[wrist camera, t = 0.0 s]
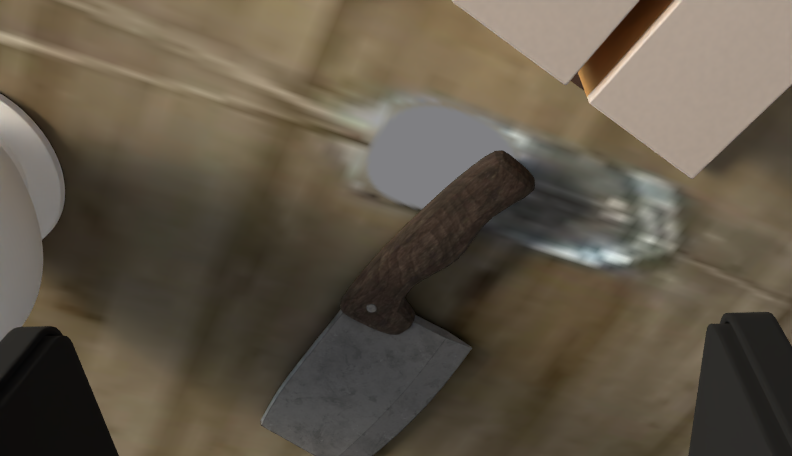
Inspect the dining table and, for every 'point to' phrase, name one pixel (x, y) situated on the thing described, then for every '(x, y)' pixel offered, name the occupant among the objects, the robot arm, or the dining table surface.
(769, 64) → the cake
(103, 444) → the robot arm
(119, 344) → the dining table surface
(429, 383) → the cleaver
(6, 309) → the decorative vase
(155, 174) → the dining table surface
